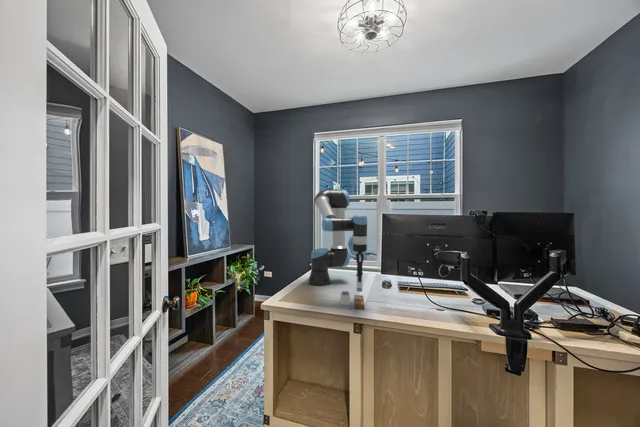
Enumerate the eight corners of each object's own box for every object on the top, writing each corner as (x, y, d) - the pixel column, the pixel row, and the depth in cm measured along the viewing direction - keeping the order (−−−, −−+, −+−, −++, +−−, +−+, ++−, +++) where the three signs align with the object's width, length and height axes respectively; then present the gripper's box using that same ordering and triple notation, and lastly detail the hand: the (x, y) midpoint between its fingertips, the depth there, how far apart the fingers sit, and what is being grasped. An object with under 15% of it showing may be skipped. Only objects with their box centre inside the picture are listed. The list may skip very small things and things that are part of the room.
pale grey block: (340, 301, 151) (340, 290, 151) (349, 301, 150) (349, 291, 150) (340, 304, 146) (340, 293, 146) (349, 305, 145) (349, 294, 145)
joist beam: (354, 299, 153) (354, 295, 153) (363, 299, 153) (363, 295, 153) (354, 309, 140) (354, 304, 139) (364, 309, 139) (364, 304, 139)
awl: (356, 289, 147) (356, 274, 147) (362, 290, 147) (362, 274, 147) (356, 291, 144) (356, 275, 144) (362, 291, 144) (362, 276, 144)
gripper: (352, 241, 153) (352, 282, 154) (353, 245, 138) (352, 291, 138) (366, 241, 152) (365, 282, 153) (367, 246, 137) (367, 291, 137)
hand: (359, 286), depth 146 cm, fingers closed on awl, 2 cm apart
